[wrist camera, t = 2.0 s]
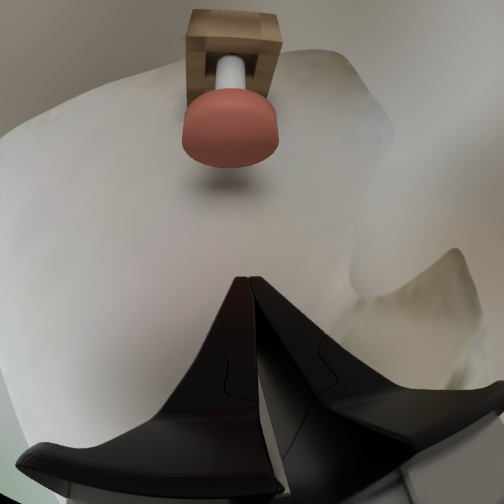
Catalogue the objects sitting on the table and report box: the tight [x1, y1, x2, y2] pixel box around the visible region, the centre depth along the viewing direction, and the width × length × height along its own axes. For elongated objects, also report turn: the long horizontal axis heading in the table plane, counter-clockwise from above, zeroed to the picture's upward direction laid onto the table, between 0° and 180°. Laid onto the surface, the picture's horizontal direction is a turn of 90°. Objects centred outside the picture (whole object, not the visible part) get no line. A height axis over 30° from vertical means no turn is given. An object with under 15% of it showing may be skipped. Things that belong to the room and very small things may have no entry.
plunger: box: [182, 53, 279, 168], centre depth 18 cm, size 8×6×6 cm
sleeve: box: [186, 9, 283, 108], centre depth 22 cm, size 5×7×11 cm
